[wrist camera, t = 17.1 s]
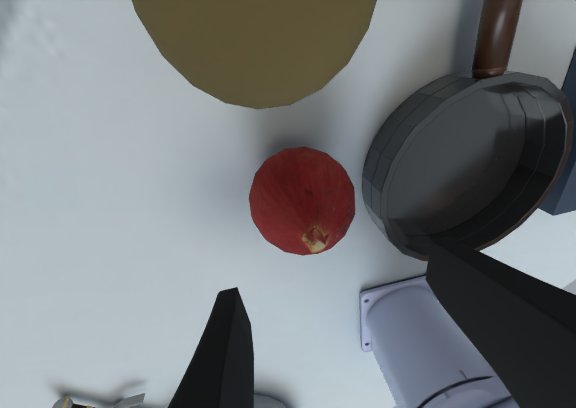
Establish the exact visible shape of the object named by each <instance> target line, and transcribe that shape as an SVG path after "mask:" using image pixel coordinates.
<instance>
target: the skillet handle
mask: <svg viewBox="0 0 576 408" xmlns="http://www.w3.org/2000/svg"><path fill="white" fill-rule="evenodd" d="M522 2H523V0H483V6H482V12H481V17H480V23H479V29H478V35H477V40H476V46H475V52H474V58H473V64H472V75H473V76H474V77H491V76H498V75H502V74H503V73H504V72H505V70H506V69H507V66H508V62H509V57H510V53H511V49H512V45H513V40H514V36H515V32H516V27H517V23H518V19H519V15H520V10H521V6H522Z"/></svg>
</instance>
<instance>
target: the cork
mask: <svg viewBox="0 0 576 408" xmlns="http://www.w3.org/2000/svg"><path fill="white" fill-rule="evenodd" d="M376 1H377V0H132V2H133V5H134V9H135V11H136V13H137V15H138V17H139V18H140V20H141V22H142V23H143V25H144V27H145V28H146V30H147V32H148V33H149V35H150V36H151V38H152V40H153V41H154V43H155V45H156V46H157V48H158V50H159V51H160V53H161V54H162V56H163V57H164V58H165V59H166V60H167V61H168V62H169V63H170V64H171V65H172V66H173V67H174V68H175V69H176V70H177V71H178V72H179V73H180V74H182V75H183V76H184V77H185V78H186V79H187V80H188V81H189V82H190V83H191V84H192V85H193V86H195V87H197V88H199V89H200V90H202V91H204V92H206V93H208V94H210V95H211V96H213V97H215V98H217V99H219V100H221V101H223V102H224V103H228V104H233V105H239V106H244V107H249V108H254V109H264V108H271V107H278V106H285V105H291V104H293V103H295V102H297V101H299V100H301V99H303V98H305V97H307V96H309V95H311V94H313V93H315V92H317V91H319V90H320V89H322V88H323V87H324V86H325V85H326V84H327V83H328V82H329V81H330V80H331V79H332V78H333V77H334V76H335V75H336V74H337V73H338V72H339V71H341V70H342V69H343V68H344V67H345V66H346V65H347V64H348V62H349V61H350V59H351V57H352V56H353V54H354V52H355V51H356V49H357V47H358V45H359V44H360V42H361V40H362V39H363V37H364V35H365V33H366V32H367V30H368V28H369V25H370V21H371V18H372V15H373V11H374V8H375V4H376Z"/></svg>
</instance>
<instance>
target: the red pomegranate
mask: <svg viewBox="0 0 576 408" xmlns="http://www.w3.org/2000/svg"><path fill="white" fill-rule="evenodd" d="M249 202H250V210H251V216H252V219H253V222H254V224H255V225H256V226H257V228H258V229H259V231H260V232H261V234H262V235H263V237H264V238H265V239H266V240H267V241H268V242H270V243H271V244H273V245H275V246H276V247H278V248H279V249H281V250H283V251H284V252H288V253H293V254H298V255H309V254H318V253H321V252H323V251H326V250H328V249H331V248H332V247H333V246H334V245H335V244H336V243H337V242H339V241H340V240H341V239H342V238H343V237H344V236H345V234H346V232H347V230H348V228H349V226H350V224H351V222H352V220H353V218H354V215H355V197H354V186H353V184H352V182H351V180H350V178H349V176H348V175H347V173H346V171H345V169H344V168H343V167H342V165H341V164H339V163H338V162H337V161H336V160H334V159H333V158H332V157H330V156H329V155H328V154H327V153H324V152H321V151H317V150H314V149H310V148H307V147H298V148H290V149H284V150H283V151H281V152H279V153H277V154H275V155H273V156H271V157H269V158H268V159H267V160H266V161H265V162H264V163H263V165H262V166H261V167H260V168H259V170H258V171H257V172H256V173H255V176H254V180H253V183H252V186H251V190H250V195H249Z"/></svg>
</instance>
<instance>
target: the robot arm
mask: <svg viewBox="0 0 576 408" xmlns="http://www.w3.org/2000/svg"><path fill="white" fill-rule="evenodd" d="M437 300H438V301H439V302H440V303H439V302H438V301H437ZM441 305H442V306H441ZM445 310H446V311H445ZM449 315H450V316H449ZM360 316H361V347H362V350H363V351H364V352H368V351H373V353H374V356H375V358H376V360H377V362H378V364H379V367H380V369H381V371H382V373H383V375H384V378H385V380H386V382H387V384H388V386H389V389H390V391H391V393H392V395H393V397H394V400H395V402H396V404H397V406H398V407H399V408H576V295H574V294H572V293H569V292H567V291H565V290H562V289H560V288H558V287H555V286H553V285H550V284H548V283H546V282H543V281H541V280H539V279H537V278H534V277H532V276H530V275H528V274H525V273H523V272H521V271H519V270H517V269H515V268H512V267H510V266H508V265H506V264H504V263H502V262H500V261H498V260H496V259H493V258H491V257H489V256H487V255H485V254H483V253H481V252H479V251H477V250H475V249H473V248H471V247H469V246H467V245H465V244H462V243H460V242H458V241H456V240H454V239H451V238H449V237H443V238H438V239H434V240H431V245H430V252H429V258H428V265H427V272H426V276H422V277H418V278H414V279H410V280H406V281H402V282H398V283H394V284H390V285H386V286H382V287H378V288H374V289H370V290H366V291H363V292H362V293H361V294H360ZM453 320H454V321H453ZM470 341H471V342H470ZM474 346H475V347H474ZM478 351H479V352H480V353H479V352H478ZM483 357H484V358H483ZM487 362H488V363H487ZM168 408H254V352H253V341H252V332H251V323H250V321H249V318H248V315H247V313H246V310H245V307H244V304H243V302H242V299H241V296H240V294H239V291H238V288H237V287H236V288H232V289H228V290H223V291H220V292H219V293H218V295H217V298H216V301H215V304H214V306H213V309H212V312H211V315H210V317H209V320H208V322H207V325H206V327H205V330H204V332H203V335H202V337H201V339H200V342H199V344H198V346H197V349H196V351H195V353H194V355H193V358H192V360H191V362H190V364H189V366H188V368H187V370H186V372H185V374H184V376H183V379H182V381H181V383H180V385H179V387H178V389H177V391H176V393H175V395H174V397H173V398H172V400H171V402H170V404H169V406H168Z"/></svg>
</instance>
